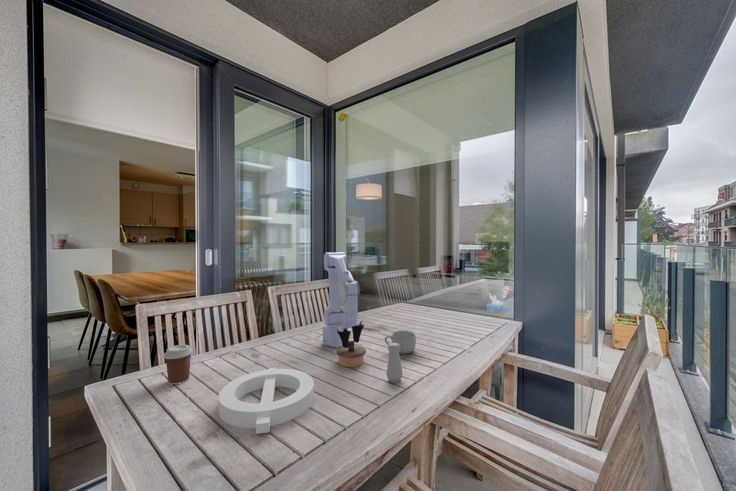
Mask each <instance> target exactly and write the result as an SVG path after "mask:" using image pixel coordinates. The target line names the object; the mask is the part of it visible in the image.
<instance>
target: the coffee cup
mask: <svg viewBox="0 0 736 491" xmlns="http://www.w3.org/2000/svg"><path fill="white" fill-rule="evenodd" d="M193 353H194V351H193V348H191V347H190V345H188V344H176V345H173V346H170V347H168V348H167V349H166V352H164V353H163V359H165V364H166V371H167V381H168V383H169V385H170V384H178V385H180V384H179V383H182V384H184V383H183V382H185V383H187V382H189V380H190V372H191V371H190V369H191V356H192V354H193ZM186 381H187V382H186Z"/></svg>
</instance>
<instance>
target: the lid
mask: <svg viewBox="0 0 736 491" xmlns="http://www.w3.org/2000/svg"><path fill="white" fill-rule="evenodd" d="M366 353H367V349H366V347H364V346H361V345H356V344H355V342H354V340H349V345H348V348H344V347H343V346H340V347H338V348H336V355H337V356H338V357H339V356H341V357H346V358H355V357H360V356H363V357H364V356H365V355H366Z"/></svg>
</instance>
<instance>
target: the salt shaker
mask: <svg viewBox="0 0 736 491" xmlns="http://www.w3.org/2000/svg"><path fill="white" fill-rule="evenodd" d="M389 343H390V342H389ZM387 346H388V347H387V348H388V349H387V350H388V352H389V354H388V355H389V356H388V360H387V368H386V373H385V375H386V378H387V379H388V382H389V383H393V384H398V383H400V382H401V380H402V377H403V373H404V372H403V367H402V363H401V357H400V353H399V351H400V345H399V344H397V343H392V342H391V343H390V344H389V345H387Z"/></svg>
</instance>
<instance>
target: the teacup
mask: <svg viewBox="0 0 736 491" xmlns="http://www.w3.org/2000/svg"><path fill="white" fill-rule="evenodd" d="M388 338H389V339H390V340H391V343H397V344H399V345H400V351H399V355H400V354H401V355H407V354H411V353H412V352H413V351H414V350H415V349H416V344H417V343H416V341H417V334H416V333H415V332H414V331H413V332H412V331H410V330H396V331H393V332H392V333H391V334H386V336H384V342H385V344H386V345H387V346H388V345H389V344H390V342H389V341H388Z"/></svg>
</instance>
